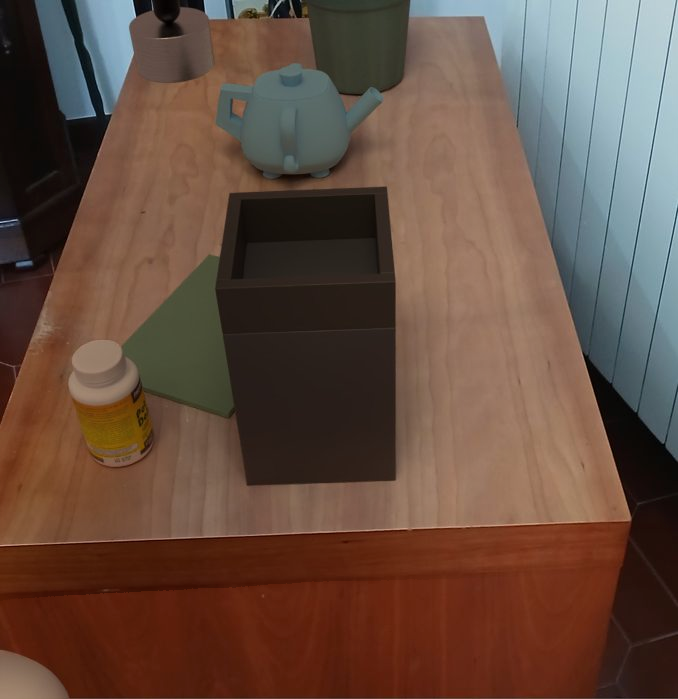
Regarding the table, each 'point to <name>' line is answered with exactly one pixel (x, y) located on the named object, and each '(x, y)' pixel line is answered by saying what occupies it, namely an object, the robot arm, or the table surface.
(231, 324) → the black box
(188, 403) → the green mat
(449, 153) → the table surface
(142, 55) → the meat pounder
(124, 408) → the supplement bottle
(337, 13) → the flower pot
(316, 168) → the teapot
